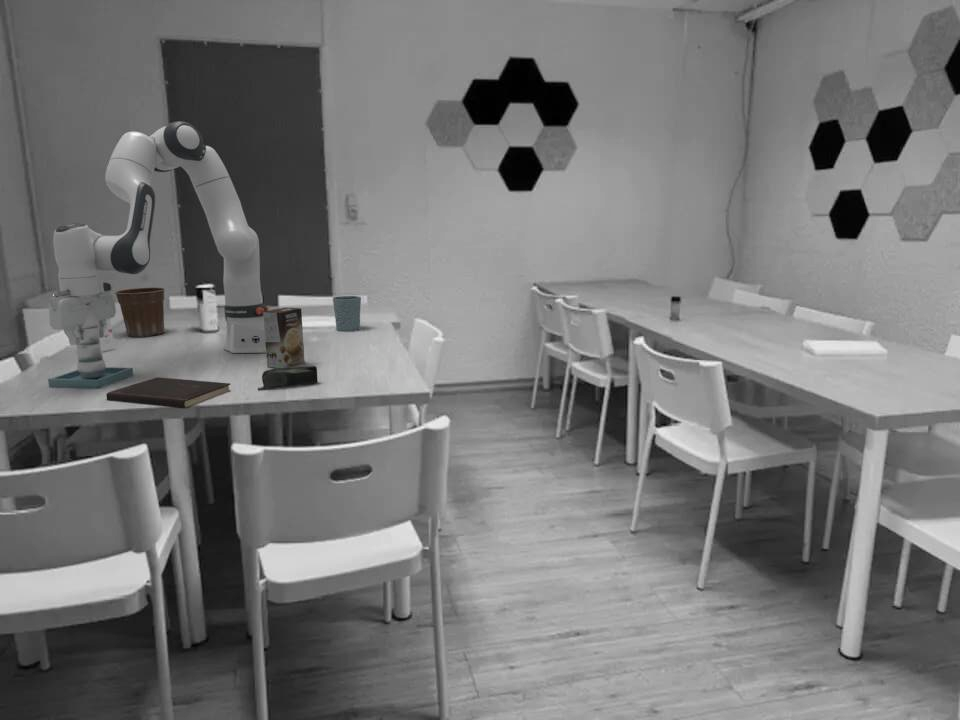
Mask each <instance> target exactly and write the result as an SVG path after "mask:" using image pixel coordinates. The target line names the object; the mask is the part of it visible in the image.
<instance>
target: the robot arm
mask: <svg viewBox="0 0 960 720" xmlns="http://www.w3.org/2000/svg"><path fill="white" fill-rule="evenodd" d="M179 167H180V168H182V169H183V170H184V171H185V172H186V173H187V175H188V177H189V178H190V181H191V183H192V186H193V188H194V191H195V193H196V197H198V200H199V203H200V204H201V207H202V209H203V211H204V214H205V217H206V220H207V224H208V226H209V229H210V232H211V235H212V238H213V241H214V244H215V246H216V249H217V251H218V253H219V255H220V256H222V258H223V277H222V278H223V279H222V281H223V291H224V292H223V293H224V303H225V305H224V318H225V322H226V334H225V343H224V347H223V348H224V349H223V350H224V351H227V352H230V354H253V353H254V354H256V353H258V354H259V353H260V354H261V353H265V354H266V343H265V330H264V315H263V311H268V310H271V309H270V305H266V304H265V303H263V300H262V289H261V278H260V276H261V274H260V273H261V270H260V269H261V266H260V265H261V264H260V263H261V262H260V240H259V237H258V234H257V232H256V231H255V230H254V229H253V228H251V227H250V226H249V224H248V222H247V219H246V216H245V213H244V210H243V206H242V203H241V200H240V198H239V195H238V193H237V191H236V188H235V186H234V183H233V181H232V179H231V177H230V174H229V172H228V170H227V168H226V166H225V164H224V163H223V161H222V159H221V158H220V156H219V154H218V153H217V151H216V150H215V149H214V148H213V147H211V146H209V145H207V144H206V142H205V140H204V139H203V137H202V135H201V133H200V132H199V130H197V128H196V127H195V126H194V125H192V124H191V123H189V122H187V121H183V120H179V121H178V120H177V121H172V122H170V123H168V124H167V125H166V126H162V127H160V128H159V129H157V130H156V131H155V132H154V133H153V134H151V135H150V136H149V135H146V134H145V133H143V132H140V131H128V132H126V133H124V134H122V136H121V138H120V139H119V141H118V142H117V144H116V145H115V148H114V149H113V151H112V154H111V155H110V158H109V162H108V164H107V167H106V170H105V175H104V177H105V178H104V179H105V180H104V181H105V184H106V185H107V187H108V189H109V190H110V192H111V193H112V194H113V195H115V196H116V197H118V198H119V199H121V200H122V201H124V202H126V203H128V204H129V207H130V208H129V213H128V219H127V226H126V230H125V231H124V233H122V234H120V235H103V234H102V233H99V232H96V231H94V229H93V230H92V229H91V228H90V227H89V225H88V224H86V223H80V222H79V223H77V222H75V223H66V224H63V225H60V226H58V227H56V228H55V230H54V232H53V239H52V240H53V252H54V253H53V254H54V259H55V263H56V264H57V267H58V273H57V278H58V284H59V285H58V286H59V291H55V292H53V293H52V295H51V297H49V305H48V316H49V325H50V327H51V328H52V330H57V331H58V330H59V331H60V330H61V331H62V330H63V333H64V335H66V337H67V338H68V343H69V345H70V346H77V344H79V343H80V341H79V337H76V335H75V333H74V331H75V327H77V326H81V325H84V324H85V322H86V319H87V317H88V315H89V314H93V315H94V316H95V317H96V318H97V319H98V321H99V338H101V337H104V336H105V334H104V330H105V326H106V319H109V318H110V319H113V318H114V317H115V316H116V313H117V312H116V311H117V310H116V301H115V295H114V294H113V291H114V285H113V283H111V282H108V281H105V280H103V279H99V274H98V272H99V273H121V274H122V273H123V274H128V275H129V274H130V275H138V274H140V273H141V272H143V271H144V270H145V268H147V267H148V265H149V263H150V260H151V243H150V242H151V235H152V229H153V221H154V214H155V207H156V195H155V191H154V188H153V187H151V183H152V179H153V176H154V172H157V173H166V172H170V171H173V170H175V169H177V168H179ZM89 303H90V304H91V308H90V309H91V310H90V311H88V309H89V308H88V309H86V304H89Z"/></svg>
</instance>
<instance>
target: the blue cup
mask: <svg viewBox="0 0 960 720" xmlns="http://www.w3.org/2000/svg"><path fill="white" fill-rule="evenodd" d="M361 301H362V297H361V296H360V295H359V296H357V295H341V296H340V295H339V296H335V297H334V296H333V297H332V302H333V303H332V304H333V309H334V310H333V311H334V319H335V329H336V332H341V333H342V332H343V333H347V332H348V333H349V332H357V331H359V330H361V304H362V303H361Z"/></svg>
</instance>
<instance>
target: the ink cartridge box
mask: <svg viewBox="0 0 960 720" xmlns="http://www.w3.org/2000/svg"><path fill="white" fill-rule="evenodd" d="M111 319H112V318H109V319H106V326H105V330H104V334H105V336H104V337H101V338H99V339H100V342H99V343H100V348H101V353H104V352H108V351H113V350H115V344H114V343H115V342H114V338H113V337H114V335H113V328H112V321H111Z"/></svg>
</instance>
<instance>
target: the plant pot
mask: <svg viewBox="0 0 960 720" xmlns="http://www.w3.org/2000/svg"><path fill="white" fill-rule="evenodd" d="M165 291H166V288H165V287H138V288H130V289H129V288H128V289H122V290H121V289H120V290H117V291H115V292H114V294H115V296H116V298H117V302H118V304H119V307H120V311H121V313H122V318H123V322H124V325H125V331H126V334H127V336H128V337H132V338H147V337H153V336H159V335H162V334H164V333H165V318H164V317H165V314H164V311H165V310H164V309H165V307H164V301H165Z"/></svg>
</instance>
